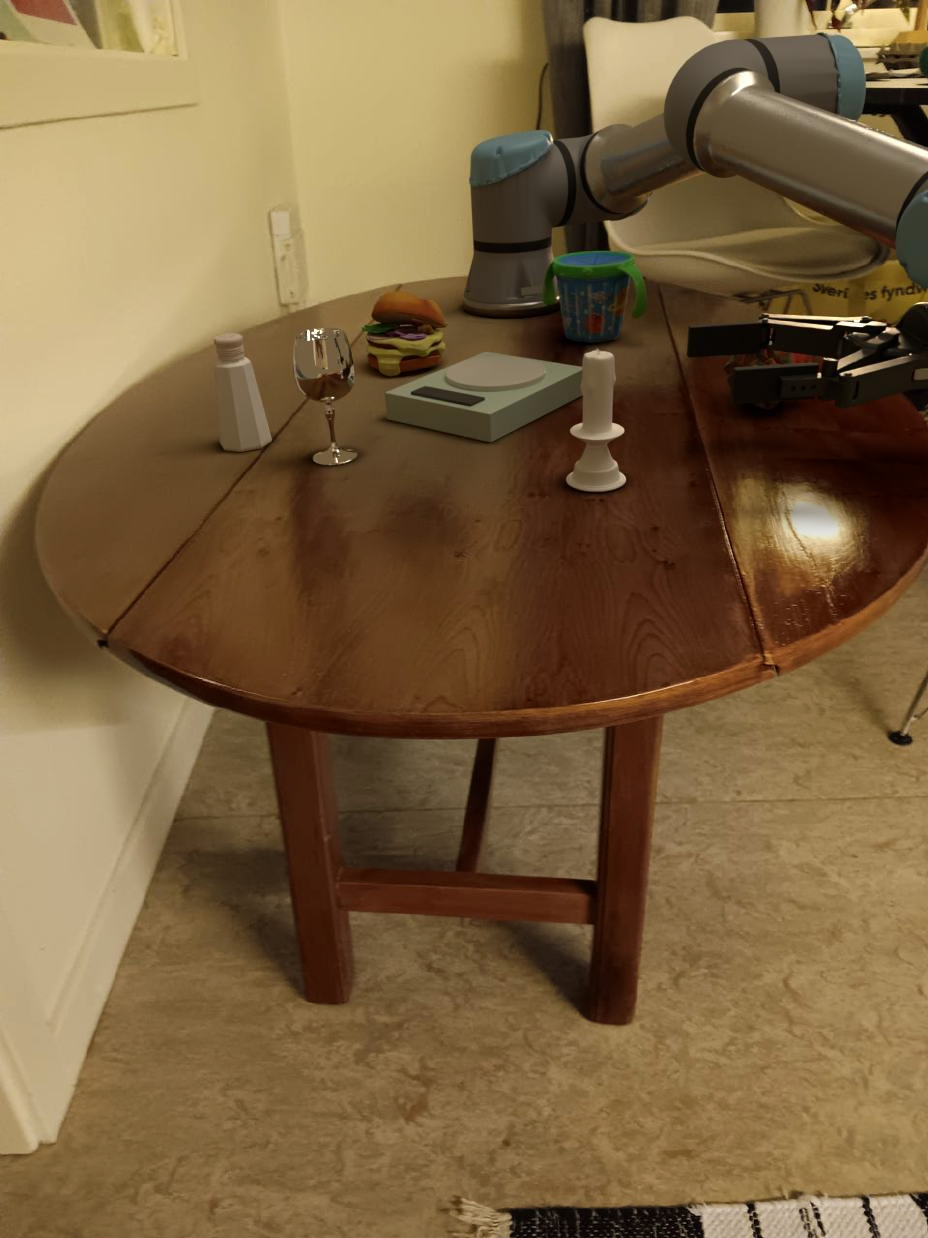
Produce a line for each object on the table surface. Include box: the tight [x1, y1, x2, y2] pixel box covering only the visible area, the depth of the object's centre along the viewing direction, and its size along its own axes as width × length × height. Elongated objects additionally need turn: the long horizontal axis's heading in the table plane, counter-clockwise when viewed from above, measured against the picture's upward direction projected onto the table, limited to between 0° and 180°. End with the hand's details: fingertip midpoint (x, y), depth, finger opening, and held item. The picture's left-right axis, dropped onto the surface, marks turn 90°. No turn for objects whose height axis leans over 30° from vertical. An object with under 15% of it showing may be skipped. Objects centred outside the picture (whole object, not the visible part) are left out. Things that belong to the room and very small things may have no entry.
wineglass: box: [292, 327, 359, 466], centre depth 91 cm, size 6×6×12 cm
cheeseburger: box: [361, 290, 449, 377], centre depth 119 cm, size 10×11×10 cm
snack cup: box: [542, 250, 648, 344], centre depth 125 cm, size 16×10×10 cm
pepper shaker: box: [213, 332, 273, 453], centre depth 96 cm, size 5×5×11 cm
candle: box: [565, 348, 627, 493], centre depth 83 cm, size 5×5×12 cm
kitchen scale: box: [384, 351, 583, 443], centre depth 104 cm, size 18×14×4 cm
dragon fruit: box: [723, 328, 813, 410], centre depth 100 cm, size 8×8×12 cm
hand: (708, 362), depth 81 cm, fingers open, 13 cm apart
